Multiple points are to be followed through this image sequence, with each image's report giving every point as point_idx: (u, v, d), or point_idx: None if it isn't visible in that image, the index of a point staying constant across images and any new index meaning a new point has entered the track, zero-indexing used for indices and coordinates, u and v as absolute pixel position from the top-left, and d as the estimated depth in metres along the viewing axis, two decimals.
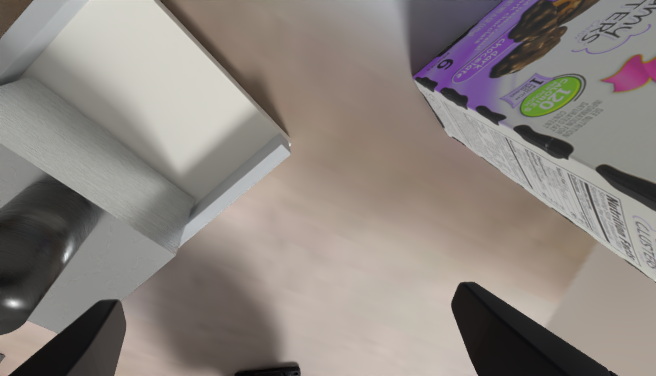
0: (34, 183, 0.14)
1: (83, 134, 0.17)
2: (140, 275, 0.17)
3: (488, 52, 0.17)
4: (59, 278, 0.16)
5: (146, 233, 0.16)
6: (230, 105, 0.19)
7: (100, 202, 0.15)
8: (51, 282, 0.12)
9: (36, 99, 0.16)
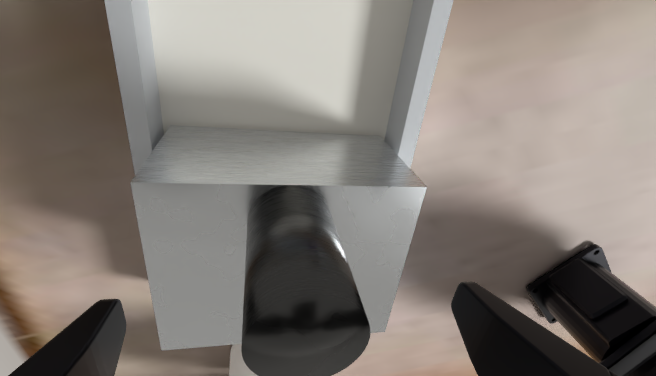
0: (250, 203, 0.11)
1: (246, 141, 0.14)
2: (405, 233, 0.13)
3: None
4: None
5: (380, 183, 0.12)
6: None
7: (316, 181, 0.12)
8: (353, 279, 0.09)
9: (189, 138, 0.14)
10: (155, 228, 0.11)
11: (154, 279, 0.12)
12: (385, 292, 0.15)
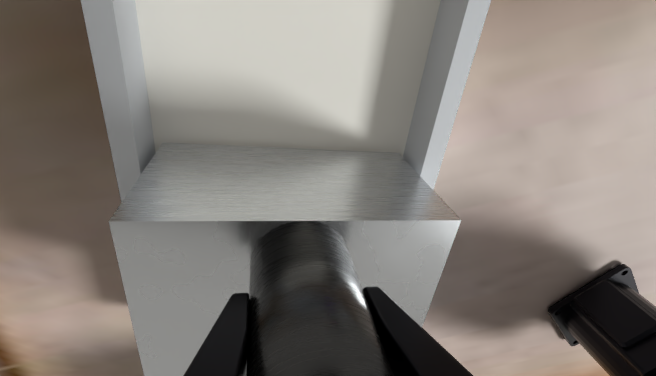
0: (255, 242, 0.10)
1: (249, 161, 0.12)
2: (433, 271, 0.11)
3: None
4: None
5: (407, 216, 0.10)
6: None
7: (332, 215, 0.10)
8: (385, 353, 0.07)
9: (183, 159, 0.12)
10: (140, 273, 0.09)
11: (140, 328, 0.10)
12: None
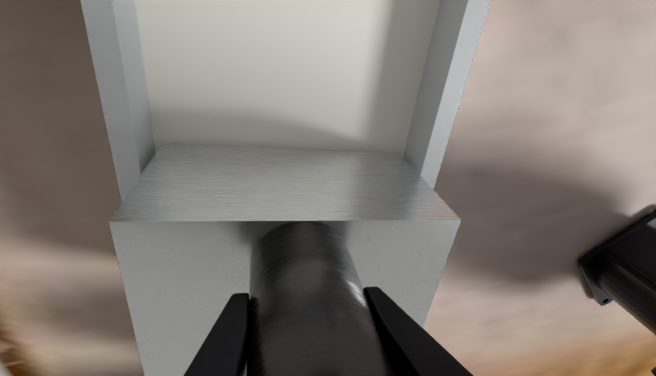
0: (255, 242, 0.10)
1: (249, 161, 0.12)
2: (433, 271, 0.11)
3: None
4: None
5: (407, 216, 0.10)
6: None
7: (332, 215, 0.10)
8: (385, 353, 0.07)
9: (183, 160, 0.12)
10: (140, 273, 0.09)
11: (141, 328, 0.10)
12: None
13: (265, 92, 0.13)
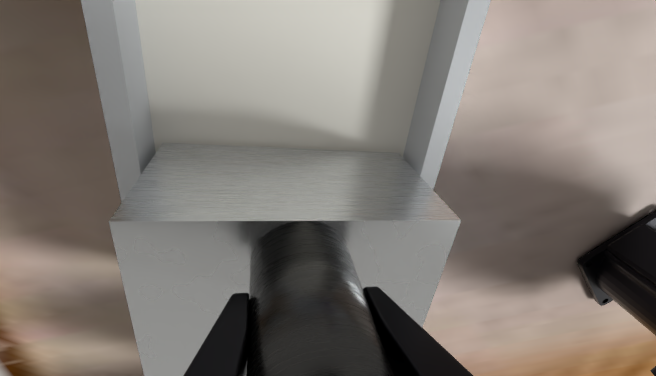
0: (255, 242, 0.10)
1: (249, 161, 0.12)
2: (433, 271, 0.11)
3: None
4: None
5: (407, 216, 0.10)
6: None
7: (333, 215, 0.10)
8: (385, 353, 0.07)
9: (183, 159, 0.12)
10: (140, 273, 0.09)
11: (140, 328, 0.10)
12: None
13: (265, 90, 0.13)
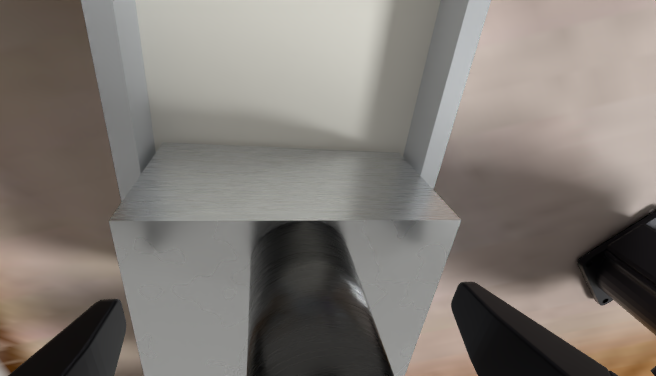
0: (255, 242, 0.10)
1: (249, 161, 0.12)
2: (433, 271, 0.11)
3: None
4: None
5: (407, 216, 0.10)
6: None
7: (332, 215, 0.10)
8: (385, 353, 0.07)
9: (183, 159, 0.12)
10: (140, 272, 0.09)
11: (140, 328, 0.10)
12: (407, 334, 0.13)
13: (265, 90, 0.13)
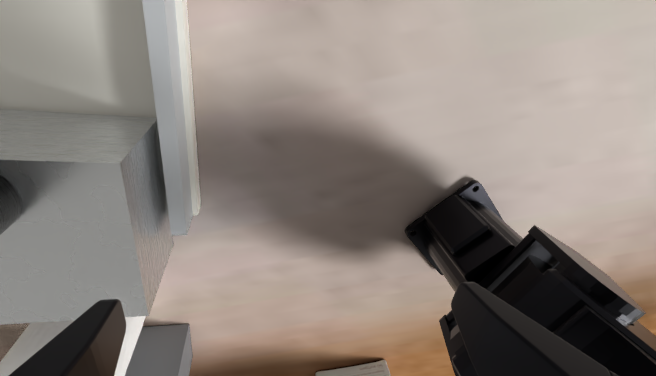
0: None
1: None
2: (118, 212, 0.13)
3: None
4: (60, 263, 0.14)
5: (67, 159, 0.12)
6: None
7: None
8: None
9: None
10: None
11: None
12: (127, 274, 0.15)
13: (5, 57, 0.15)
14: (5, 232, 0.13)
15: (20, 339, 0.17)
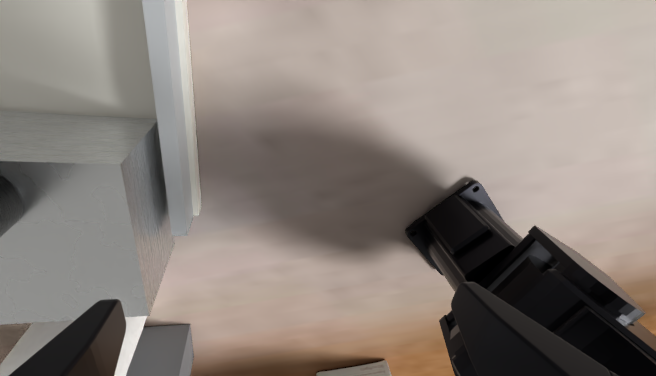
0: None
1: None
2: (119, 212, 0.13)
3: None
4: (61, 263, 0.14)
5: (68, 160, 0.12)
6: None
7: None
8: None
9: None
10: None
11: None
12: (128, 274, 0.15)
13: (7, 59, 0.15)
14: (7, 233, 0.13)
15: (22, 339, 0.17)
